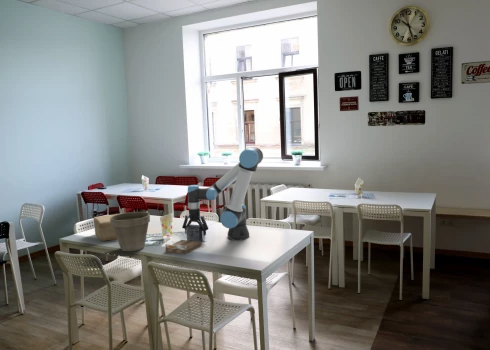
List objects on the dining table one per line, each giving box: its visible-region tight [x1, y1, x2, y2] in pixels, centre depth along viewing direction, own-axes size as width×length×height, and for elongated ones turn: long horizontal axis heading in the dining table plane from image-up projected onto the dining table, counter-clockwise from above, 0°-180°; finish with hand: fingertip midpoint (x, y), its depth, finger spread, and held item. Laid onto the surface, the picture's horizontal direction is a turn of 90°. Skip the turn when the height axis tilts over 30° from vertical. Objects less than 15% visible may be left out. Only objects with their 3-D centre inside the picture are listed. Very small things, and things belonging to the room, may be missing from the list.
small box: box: [186, 224, 203, 243], centre depth 281 cm, size 11×6×10 cm, turn 65°
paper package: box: [93, 213, 119, 242], centre depth 303 cm, size 27×26×14 cm
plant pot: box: [110, 211, 151, 252], centre depth 268 cm, size 25×25×22 cm
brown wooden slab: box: [164, 239, 202, 255], centre depth 264 cm, size 15×18×4 cm
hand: (195, 239), depth 281 cm, fingers open, 12 cm apart
